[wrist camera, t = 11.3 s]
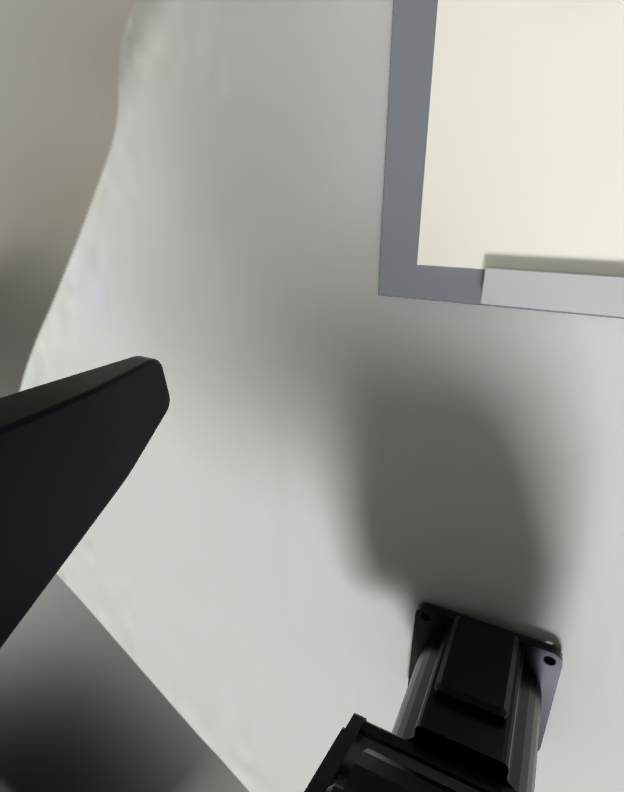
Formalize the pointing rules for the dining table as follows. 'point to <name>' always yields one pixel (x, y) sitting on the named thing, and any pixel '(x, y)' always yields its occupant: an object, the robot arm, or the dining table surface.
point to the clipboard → (506, 155)
